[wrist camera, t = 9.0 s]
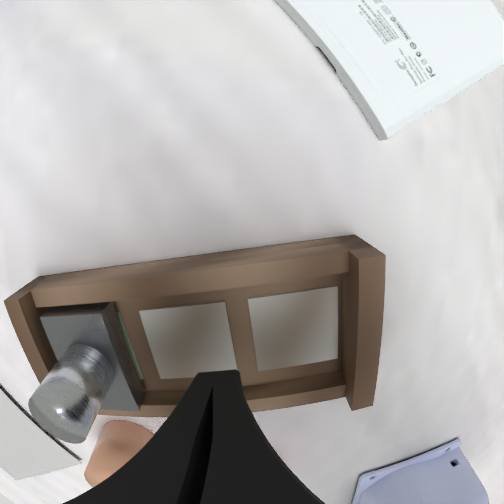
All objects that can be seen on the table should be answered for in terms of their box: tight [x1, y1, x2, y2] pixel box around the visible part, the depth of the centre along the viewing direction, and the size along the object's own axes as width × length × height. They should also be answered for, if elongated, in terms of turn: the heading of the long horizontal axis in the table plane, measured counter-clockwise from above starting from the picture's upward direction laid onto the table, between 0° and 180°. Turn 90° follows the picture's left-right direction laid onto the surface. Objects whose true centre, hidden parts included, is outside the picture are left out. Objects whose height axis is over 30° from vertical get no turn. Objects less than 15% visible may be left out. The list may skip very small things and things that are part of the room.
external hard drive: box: [275, 0, 504, 140], centre depth 10 cm, size 2×8×12 cm
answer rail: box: [4, 235, 385, 417], centre depth 12 cm, size 15×7×3 cm, turn 97°
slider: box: [28, 301, 145, 443], centre depth 10 cm, size 3×5×5 cm, turn 7°
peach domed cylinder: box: [84, 420, 154, 487], centre depth 14 cm, size 4×4×4 cm
